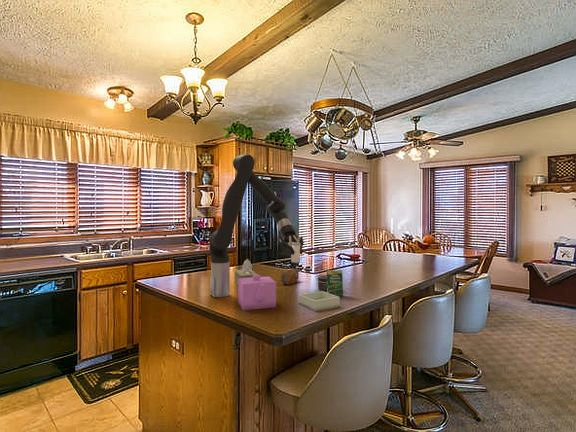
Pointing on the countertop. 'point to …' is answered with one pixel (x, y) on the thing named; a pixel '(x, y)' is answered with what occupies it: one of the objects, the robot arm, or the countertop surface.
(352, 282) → the countertop surface
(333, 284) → the coffee box
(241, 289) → the pink storage box
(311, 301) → the bin
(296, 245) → the salt shaker
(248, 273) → the tissue box
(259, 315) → the countertop surface
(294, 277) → the tin
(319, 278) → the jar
